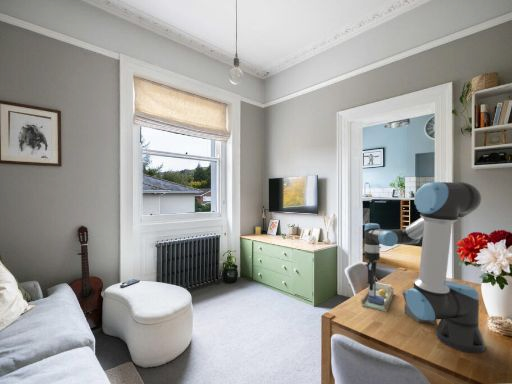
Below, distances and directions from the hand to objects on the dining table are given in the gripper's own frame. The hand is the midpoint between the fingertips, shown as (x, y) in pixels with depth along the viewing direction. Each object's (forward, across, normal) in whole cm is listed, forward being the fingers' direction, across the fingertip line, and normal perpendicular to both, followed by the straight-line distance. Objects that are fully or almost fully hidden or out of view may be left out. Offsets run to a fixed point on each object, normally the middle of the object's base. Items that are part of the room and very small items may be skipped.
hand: (372, 294), depth 137 cm
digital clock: (+5, -4, -22) cm, 22 cm away
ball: (+2, +10, -4) cm, 11 cm away
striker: (+3, 0, -2) cm, 4 cm away
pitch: (+5, +6, -2) cm, 8 cm away
